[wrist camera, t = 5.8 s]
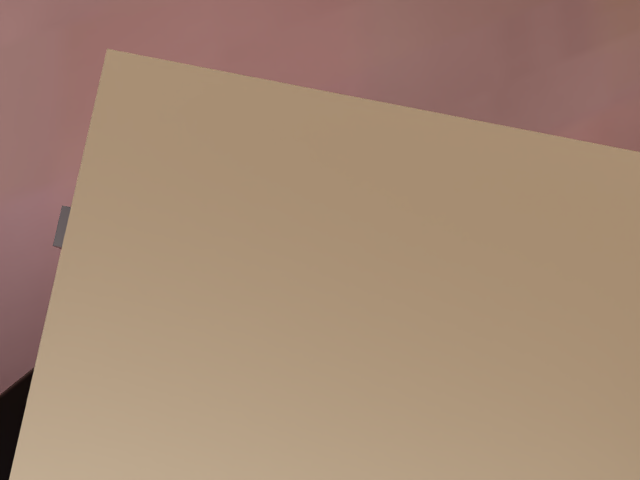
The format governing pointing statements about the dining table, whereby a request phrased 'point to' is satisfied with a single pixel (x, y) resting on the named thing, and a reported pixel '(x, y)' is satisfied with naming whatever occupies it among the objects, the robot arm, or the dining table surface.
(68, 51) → the dining table surface
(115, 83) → the birch board
